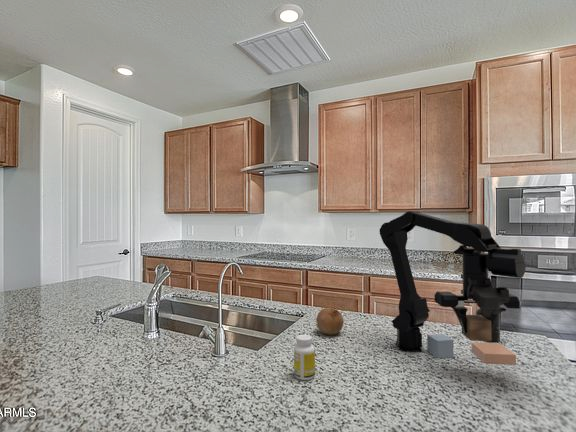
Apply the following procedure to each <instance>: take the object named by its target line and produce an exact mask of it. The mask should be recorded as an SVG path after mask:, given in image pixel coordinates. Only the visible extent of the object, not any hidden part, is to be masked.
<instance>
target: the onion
mask: <svg viewBox="0 0 576 432" xmlns="http://www.w3.org/2000/svg"><path fill="white" fill-rule="evenodd" d="M316 316H317V317H316V320H315V321H316V328H317V329H319V330H320V332H322V333H323V334H324V335H328V336H333V335H337V334H339V333H340V332H341V331H342V329H343V327H344V322H345V321H344V318H343V315H342V312H340V311H339V310H338V309H336V308H334V307H324V308H322V309H321V310H319V312H318V314H317V315H316Z"/></svg>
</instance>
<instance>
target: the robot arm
mask: <svg viewBox="0 0 576 432" xmlns="http://www.w3.org/2000/svg"><path fill="white" fill-rule="evenodd" d="M416 226H417V227H419V228H423V229H426V230H428V231H432V232H435V233H439V234H442V235H445V236H447V237H449V238H451V239H452V241H455V242H456V243H459V244H461V245H459V247H458V248H457V249H455V250H453V254H455V255H462V259H461V260H462V261H461V262H462V274H460V278H461V279H462V289H460V294H459V295H457V294H455V293H453V292H452V291H436V292H435V293H434V296H433V297H434V302H435V304H437V305H439V306H440V307H442V308H451V309H452V310H453V312H454V314H455V315H456V317H457V319H458V322H459V325H460V326H461V330H462V329H463V332H464V333H467V320H466V315H467V312H468V308H467V307H466V306H465V304H476V306H477V308H479V309H480V308H482V309H483V312H484V317H485V318H487V319H489V320H490V321H491V328H492V325H493V323H494V321H495V319H496V317H497V315H498V314H501V313H502V312H506V311H507V309H516V310H517V309H521V300H520V298H519V297H518V296H516V295H514V294H511V293H510V290H509V288H507V287H505V286H501V287H500V286H499V287H493V285H492V279H491V278H490V277H489V272H490V273H491V274H492V276H499V277H500V276H501V277H509V278H515V279H517V278H518V279H523V277H524V276H525V273H526V268H527V267H526V265H527V264H526V261H525V258H524V256H523V254H522V249H521V248H502V247H501V245H499V244H498V243H497V241H496V240H495V239H494V237H492V233H491V230H490V229H489V227H488V226H487V225H485V224H481V223H472V222H471V223H468V222H456V221H451V220H450V219H449V220H448V219H445V218H440V217H438V216H433V215H429V214H425V213H422V212H420V211H415V210H413V211H412V210H409V211H406V212H404V213H403V214H402V215H400V216H397V217H395V218H393V219H392V220H390V221H388V222H384V223H383V224H381V226H380V227H379V235H380V238H381V241H382V244H383V245H384V246H385V247H386V248H387V249H388V250H389V253H390V256H391V262H392V265H393V270H394V273H395V277H396V282H397V286H398V290H399V294H400V297H399V303H398V315H397V316H395V317H394V318H393V319H392V320H391V323H392V325H393V326H392V327H393V329H396V341H395V344H396V346H397V347H398V349H399V351H403V352H405V351H406V352H407V351H408V352H423V349H422V347H423V334H422V332H421V327H423V326H424V325H425V322H427V320H428V318H429V316H430V313H429V312H431V311H430V308H429V307H428V300H427V299H426V298H425V297H424V298H421V296H420V295H419V294H418V291H417V288H416V287H417V286H416V284H415V280H414V276H413V273H412V268H411V264H410V260H409V256H408V252H407V248H406V247H407V243H408V240H409V239H408V233H409V232H411V231H413V229H414V228H415V227H416ZM504 306H505V307H506V308H505V307H504Z"/></svg>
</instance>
